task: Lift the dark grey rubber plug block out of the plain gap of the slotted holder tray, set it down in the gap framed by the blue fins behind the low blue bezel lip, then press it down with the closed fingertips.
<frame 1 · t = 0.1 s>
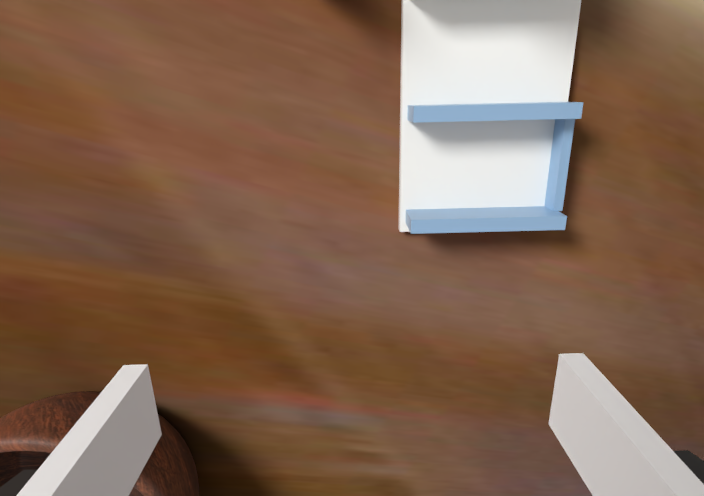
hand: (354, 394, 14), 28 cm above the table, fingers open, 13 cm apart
slotted holder tray: (484, 53, 37), on the table
wooden bowl: (108, 460, 51), on the table
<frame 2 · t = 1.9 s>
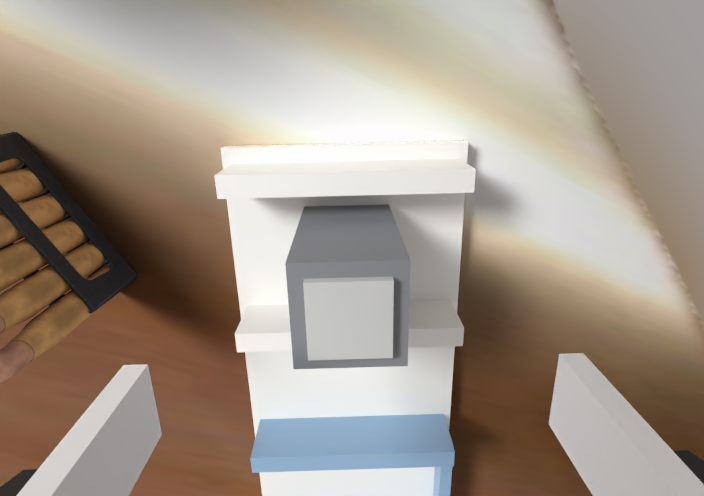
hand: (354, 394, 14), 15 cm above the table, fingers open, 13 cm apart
ammunition clip: (71, 215, 27), on the table
plug: (347, 245, 27), point 1 cm above the table, touching slotted holder tray
slotted holder tray: (350, 361, 31), on the table
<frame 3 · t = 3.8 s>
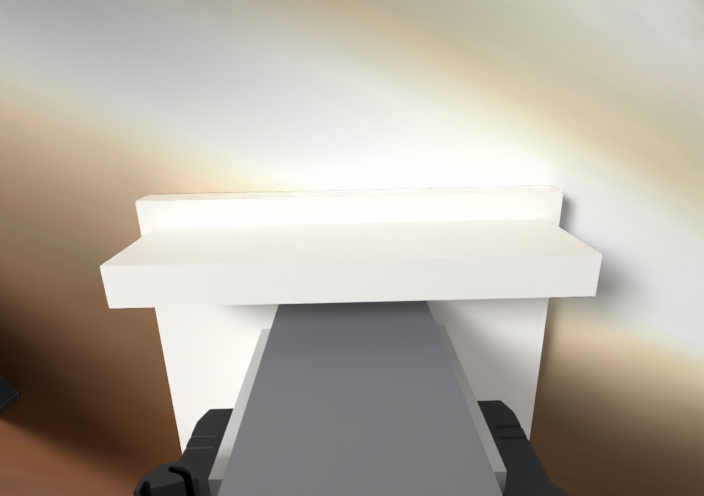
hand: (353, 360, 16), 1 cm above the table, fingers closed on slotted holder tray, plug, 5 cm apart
plug: (353, 355, 16), point 1 cm above the table, touching gripper
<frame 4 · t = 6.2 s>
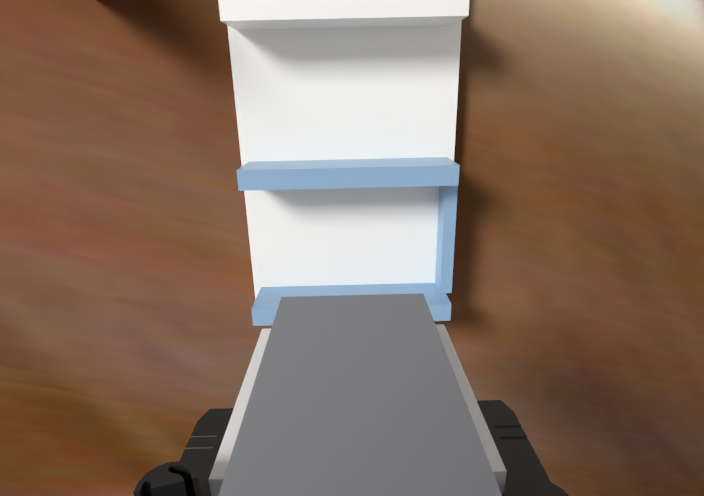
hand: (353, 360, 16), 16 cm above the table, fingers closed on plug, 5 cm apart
plug: (353, 356, 16), point 16 cm above the table, touching gripper
slotted holder tray: (346, 96, 29), on the table
when the fingers open (3 cm above the table, at t = 8.9 s): plug drops 1 cm, resting on slotted holder tray.
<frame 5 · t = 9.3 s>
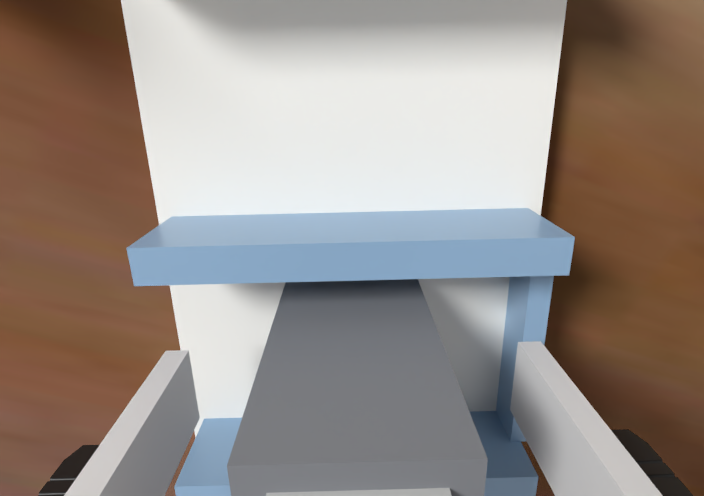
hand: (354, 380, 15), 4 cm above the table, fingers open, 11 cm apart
plug: (352, 335, 18), point 1 cm above the table, touching slotted holder tray
slotted holder tray: (347, 99, 16), on the table
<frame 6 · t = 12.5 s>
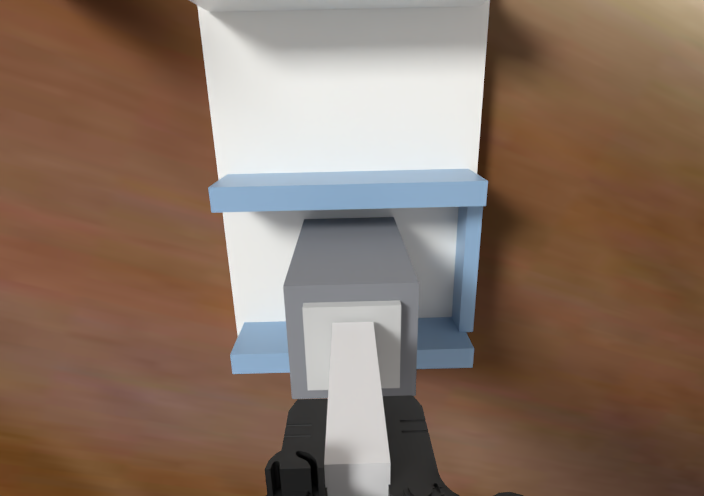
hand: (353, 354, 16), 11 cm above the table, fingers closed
plug: (350, 259, 25), point 1 cm above the table, touching slotted holder tray, gripper
slotted holder tray: (346, 94, 23), on the table
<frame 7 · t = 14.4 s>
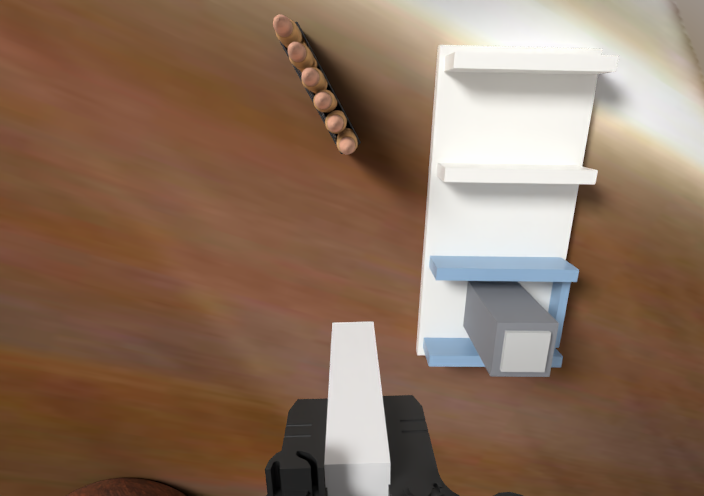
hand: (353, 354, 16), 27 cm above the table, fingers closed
ammunition clip: (323, 92, 40), on the table
plug: (489, 303, 45), point 1 cm above the table, touching slotted holder tray
slotted holder tray: (497, 215, 43), on the table
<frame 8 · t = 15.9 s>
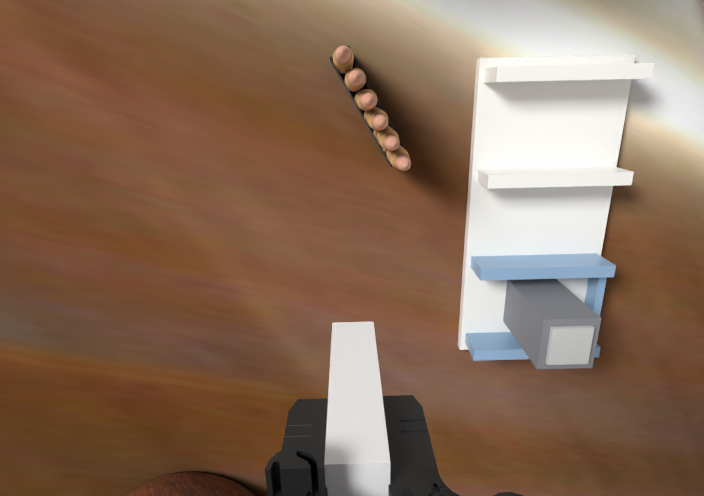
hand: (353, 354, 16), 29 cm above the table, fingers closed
ammunition clip: (367, 107, 42), on the table
plug: (528, 299, 47), point 1 cm above the table, touching slotted holder tray
slotted holder tray: (534, 215, 45), on the table
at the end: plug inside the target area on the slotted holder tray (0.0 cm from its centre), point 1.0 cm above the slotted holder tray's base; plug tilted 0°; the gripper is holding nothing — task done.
